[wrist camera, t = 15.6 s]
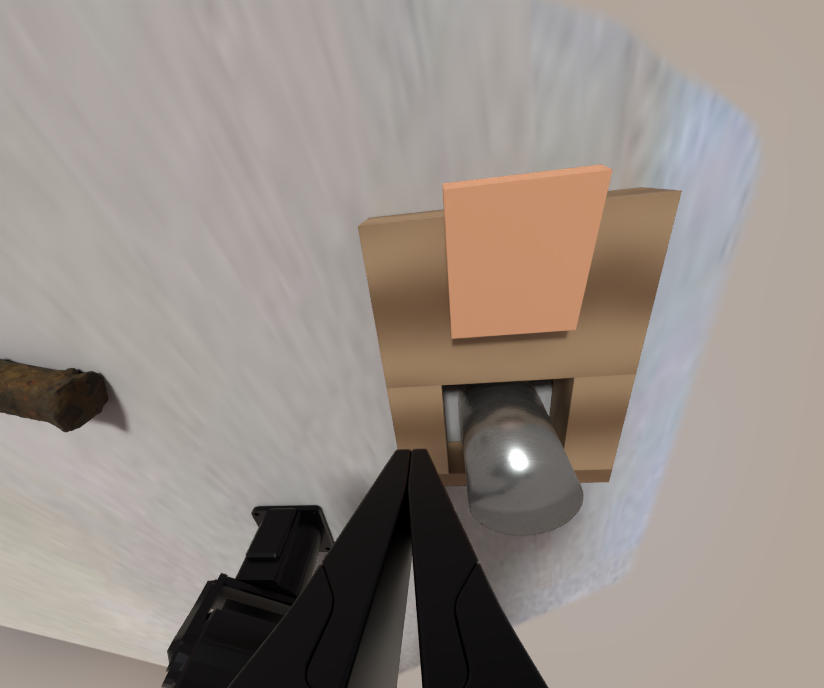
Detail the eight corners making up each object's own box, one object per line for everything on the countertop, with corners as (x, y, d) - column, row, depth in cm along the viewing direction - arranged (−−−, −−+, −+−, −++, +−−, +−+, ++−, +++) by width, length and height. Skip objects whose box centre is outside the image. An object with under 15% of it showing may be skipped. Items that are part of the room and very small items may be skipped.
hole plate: (590, 448, 25) (608, 481, 22) (407, 455, 26) (404, 487, 24) (641, 187, 16) (681, 190, 14) (369, 217, 18) (357, 226, 15)
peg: (534, 428, 24) (575, 535, 17) (459, 431, 25) (470, 536, 18) (539, 365, 22) (591, 460, 15) (456, 370, 22) (467, 464, 15)
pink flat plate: (568, 318, 17) (575, 330, 16) (450, 327, 17) (451, 338, 16) (600, 164, 12) (612, 169, 12) (442, 183, 13) (443, 189, 12)
